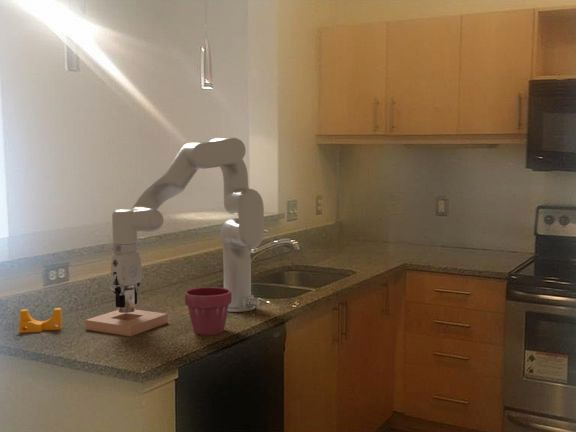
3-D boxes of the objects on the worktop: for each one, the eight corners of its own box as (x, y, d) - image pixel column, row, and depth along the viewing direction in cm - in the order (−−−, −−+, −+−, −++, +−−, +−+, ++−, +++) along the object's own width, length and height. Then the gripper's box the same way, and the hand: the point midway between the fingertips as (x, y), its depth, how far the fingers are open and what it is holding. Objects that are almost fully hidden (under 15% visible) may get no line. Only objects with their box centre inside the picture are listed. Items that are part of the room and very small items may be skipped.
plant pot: (210, 323, 226) (209, 284, 225) (241, 330, 217) (241, 290, 216) (176, 332, 215) (175, 291, 214) (207, 340, 206) (206, 298, 205)
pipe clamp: (19, 333, 216) (18, 312, 215) (22, 329, 220) (21, 309, 219) (60, 331, 218) (59, 310, 217) (62, 327, 222) (61, 307, 221)
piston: (138, 310, 224) (138, 282, 223) (127, 313, 219) (126, 285, 218) (125, 308, 226) (124, 280, 225) (114, 311, 221) (113, 283, 221)
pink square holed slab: (167, 322, 227) (167, 313, 227) (131, 336, 211) (130, 326, 211) (124, 316, 235) (123, 307, 235) (85, 329, 219) (85, 319, 219)
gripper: (116, 253, 211) (117, 312, 213) (151, 246, 226) (152, 301, 228) (97, 251, 215) (98, 309, 217) (133, 244, 230) (134, 299, 232)
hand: (126, 304), depth 222 cm, fingers closed on piston, 5 cm apart
